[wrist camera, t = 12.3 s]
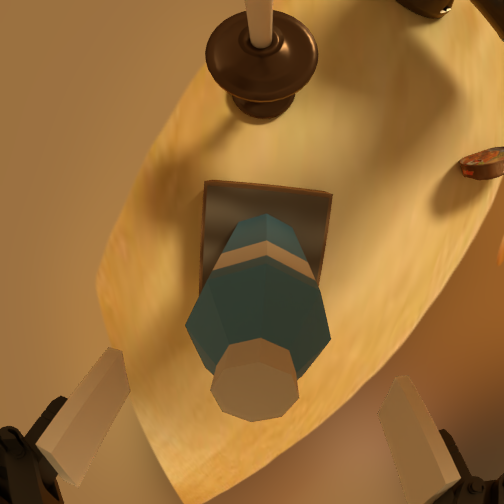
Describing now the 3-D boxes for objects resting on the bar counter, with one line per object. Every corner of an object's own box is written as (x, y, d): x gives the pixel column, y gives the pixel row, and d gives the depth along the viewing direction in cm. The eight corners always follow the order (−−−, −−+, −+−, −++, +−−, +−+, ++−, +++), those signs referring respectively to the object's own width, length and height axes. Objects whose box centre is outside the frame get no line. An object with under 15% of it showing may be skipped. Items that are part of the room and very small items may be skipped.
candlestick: (292, 132, 37) (404, -22, 4) (218, 117, 37) (59, -31, 4) (307, 66, 34) (388, -123, 1) (235, 52, 34) (168, -140, 1)
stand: (212, 179, 40) (203, 181, 34) (324, 191, 39) (333, 194, 34) (206, 284, 44) (198, 300, 38) (308, 294, 44) (314, 312, 38)
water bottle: (294, 287, 37) (326, 449, 13) (223, 280, 37) (166, 435, 13) (304, 217, 35) (379, 316, 11) (228, 210, 35) (149, 294, 11)
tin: (499, 145, 34) (528, 145, 26) (503, 161, 35) (532, 163, 27) (450, 161, 37) (480, 162, 28) (454, 179, 37) (485, 183, 29)
